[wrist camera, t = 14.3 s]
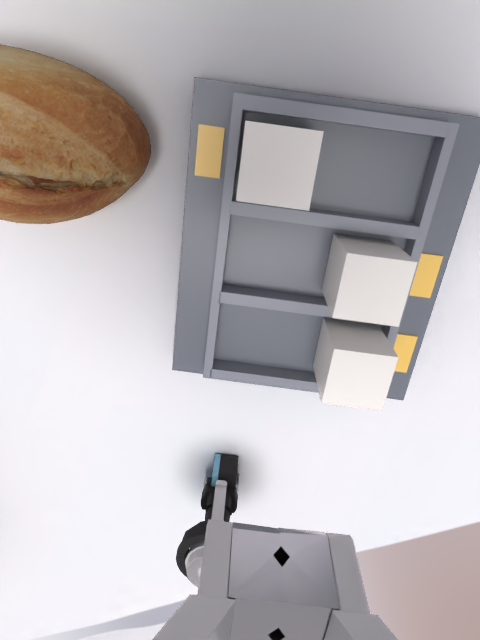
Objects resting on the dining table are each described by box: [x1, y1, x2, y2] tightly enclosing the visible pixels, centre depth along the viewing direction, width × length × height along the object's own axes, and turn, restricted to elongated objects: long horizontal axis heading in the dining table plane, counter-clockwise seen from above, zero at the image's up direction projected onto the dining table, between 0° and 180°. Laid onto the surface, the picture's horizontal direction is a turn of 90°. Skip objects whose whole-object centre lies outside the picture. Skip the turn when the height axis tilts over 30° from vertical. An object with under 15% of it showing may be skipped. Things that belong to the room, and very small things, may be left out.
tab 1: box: [236, 121, 324, 211], centre depth 26 cm, size 4×4×5 cm
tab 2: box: [322, 234, 418, 327], centre depth 28 cm, size 4×4×5 cm
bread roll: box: [0, 45, 151, 224], centre depth 26 cm, size 10×15×8 cm, turn 82°
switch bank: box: [172, 77, 480, 400], centre depth 31 cm, size 20×18×4 cm
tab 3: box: [313, 317, 399, 411], centre depth 30 cm, size 4×4×5 cm
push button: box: [176, 454, 239, 587], centre depth 36 cm, size 7×5×10 cm
